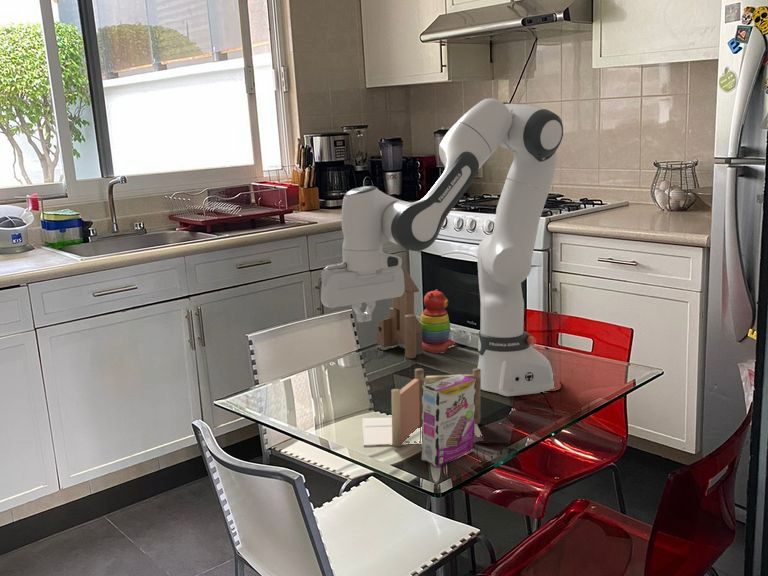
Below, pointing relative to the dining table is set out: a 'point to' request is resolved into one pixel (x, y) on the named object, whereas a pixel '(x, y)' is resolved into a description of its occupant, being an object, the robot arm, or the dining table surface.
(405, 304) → the wooden toy
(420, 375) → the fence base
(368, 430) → the card
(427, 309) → the stacking bear
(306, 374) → the dining table surface
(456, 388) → the candy bar box
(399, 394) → the swing panel
